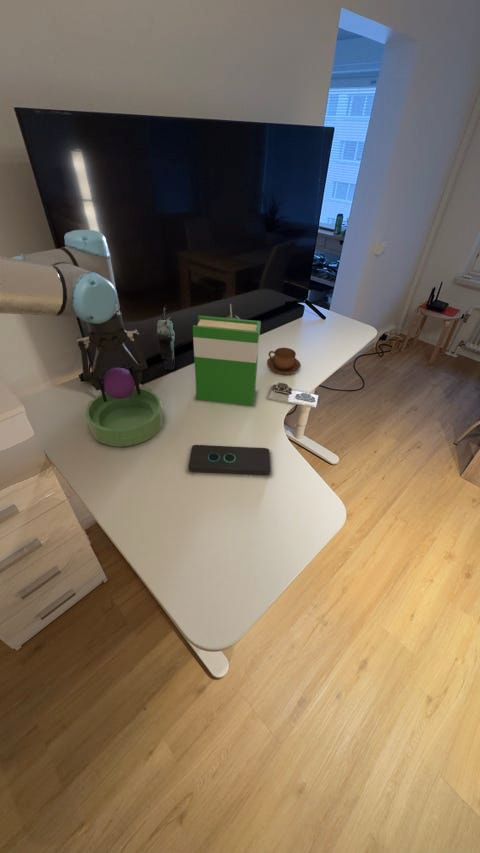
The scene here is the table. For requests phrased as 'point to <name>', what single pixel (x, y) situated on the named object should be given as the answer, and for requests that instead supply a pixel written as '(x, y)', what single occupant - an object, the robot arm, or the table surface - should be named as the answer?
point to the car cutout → (292, 396)
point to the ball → (118, 383)
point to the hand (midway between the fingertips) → (121, 395)
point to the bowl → (125, 418)
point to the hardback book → (226, 359)
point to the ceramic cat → (166, 339)
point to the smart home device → (229, 460)
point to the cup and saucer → (283, 361)
